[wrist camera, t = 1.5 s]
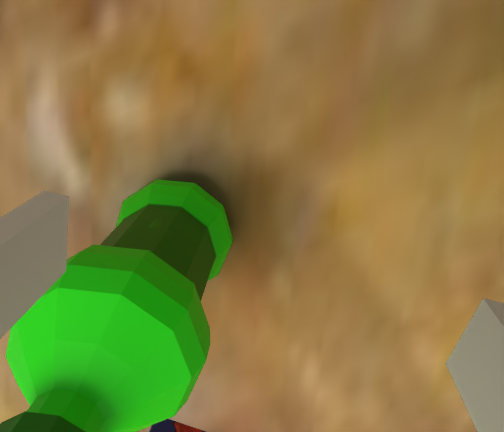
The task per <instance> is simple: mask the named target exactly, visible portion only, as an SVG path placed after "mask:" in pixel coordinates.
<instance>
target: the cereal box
mask: <svg viewBox="0 0 504 432" xmlns="http://www.w3.org/2000/svg"><path fill="white" fill-rule="evenodd" d="M149 432H205V431H202V430H199V429H196V428H193V427H190V426H187V425H184V424H181V423H178V422H175V421H172V420H169V419H166V420H163V421H161V422H158V423H156V424H153V425H152V426H151V429H150V431H149Z"/></svg>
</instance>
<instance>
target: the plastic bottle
mask: <svg viewBox="0 0 504 432" xmlns="http://www.w3.org/2000/svg"><path fill="white" fill-rule="evenodd" d="M232 241H233V237H232V234H231V230H230V227H229V223H228V220H227V217H226V213H225V210H224V206H223V205H222V204H221V203H220V202H218V201H217V200H216V199H215V198H213V197H212V196H211V195H210V194H208V193H207V192H206V191H205V190H203V189H202V188H201V187H200V186H198V185H197V184H196V183H191V182H180V181H169V180H159V179H157V180H155V181H153V182H152V183H150V184H149V185H147V186H145V187H144V188H142V189H140V190H139V191H137V192H136V193H134V194H132V195H131V196H129V197H128V198H127V199H126V200H125V201H124V202H123V204H122V207H121V211H120V214H119V217H118V221H117V224H116V228H115V229H114V230H113V232H112V233H111V234H110V235H109V236H108V237H107V238H106V239H105V240H104V241H103V242H102V243H101V245H92V246H90V247H88V248H87V249H85V250H83V251H81V252H79V253H77V254H76V255H74V256H72V257H71V258H69V259H67V266H66V272H65V273H64V274H63V275H62V276H61V277H60V278H59V279H58V280H57V281H56V282H55V283H54V284H53V285H52V286H51V287H50V288H49V289H48V290H47V291H46V292H45V293H44V294H43V295H42V296H41V297H40V298H39V300H38V301H37V302H36V303H35V304H34V305H33V306H32V307H31V308H30V309H29V310H28V311H27V312H26V313H25V314H24V315H23V316H22V317H21V318H20V319H19V320H18V321H17V322H16V323H15V324H14V325H13V326H12V327H11V331H10V336H9V341H8V347H7V352H6V358H7V360H8V363H9V365H10V367H11V370H12V372H13V374H14V377H15V379H16V381H17V384H18V386H19V387H20V389H21V391H22V393H23V394H24V396H25V398H26V399H27V401H28V403H29V405H30V407H29V409H28V410H27V412H26V411H25V412H23V413H21V414H19V415H17V416H15V417H12V418H10V419H8V420H6V421H4V422H2V423H1V424H0V432H136V431H139V430H141V429H144V428H146V427H149V426H151V425H153V424H156V423H158V422H161V421H163V420H166V419H168V418H171V417H173V416H175V414H176V413H177V412H178V411H179V410H180V408H181V407H182V406H183V405H184V404H185V403H186V401H187V400H188V397H189V395H190V393H191V391H192V389H193V387H194V385H195V383H196V380H197V378H198V376H199V374H200V372H201V370H202V368H203V366H204V364H205V361H206V358H207V355H208V351H209V347H210V327H209V325H208V322H207V319H206V316H205V313H204V310H203V307H202V305H201V302H200V301H201V298H202V295H203V292H204V289H205V287H206V284H207V281H208V280H210V279H212V278H214V277H215V276H217V275H218V274H219V272H220V270H221V268H222V265H223V263H224V261H225V258H226V256H227V254H228V252H229V249H230V247H231V244H232Z"/></svg>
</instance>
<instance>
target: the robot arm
mask: <svg viewBox="0 0 504 432" xmlns="http://www.w3.org/2000/svg"><path fill="white" fill-rule="evenodd" d="M68 210H69V196H65V195H61V194H57V193H53V192H49V191H43V192H41V193H40V194H38V195H37V196H35V197H33V198H32V199H30V200H28V201H27V202H25V203H24V204H22V205H20V206H19V207H17V208H16V209H14V210H12V211H11V212H9V213H7V214H6V215H4V216H3V217H1V218H0V339H1V338H2V337H3V336H4V335H5V334H6V333H7V331H8V330H9V329H10V328H11V327H12V326H13V325H14V324H15V323H16V322H17V321H18V320H19V319H20V318H21V317H22V316H23V315H24V314H25V313H26V312H27V311H28V310H29V309H30V308H31V307H32V306H33V305H34V304H35V303H36V302H37V301H38V300H39V298H40V297H41V296H42V295H43V294H44V293H45V292H46V291H47V290H48V289H49V288H50V287H51V286H52V285H53V284H54V283H55V282H56V281H57V280H58V279H59V278H60V277H61V276H62V275H63V274H64V273H65V272H66V266H67V238H68ZM446 365H447V368H448V370H449V372H450V374H451V376H452V378H453V380H454V383H455V385H456V387H457V389H458V391H459V393H460V396H461V398H462V400H463V402H464V404H465V406H466V408H467V411H468V413H469V415H470V417H471V419H472V421H473V424H474V426H475V428H476V430H477V432H504V303H500V302H496V301H492V300H488V299H484V298H483V299H482V301H481V303H480V305H479V306H478V308H477V310H476V312H475V313H474V315H473V317H472V319H471V320H470V322H469V324H468V326H467V327H466V329H465V331H464V333H463V334H462V336H461V338H460V339H459V341H458V343H457V345H456V346H455V348H454V350H453V352H452V353H451V355H450V357H449V359H448V360H447V362H446Z"/></svg>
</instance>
